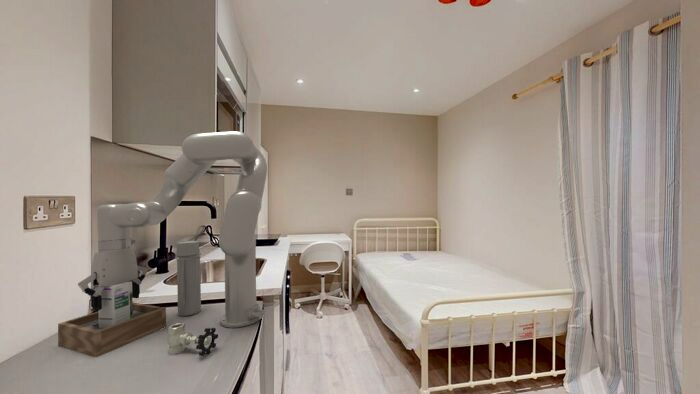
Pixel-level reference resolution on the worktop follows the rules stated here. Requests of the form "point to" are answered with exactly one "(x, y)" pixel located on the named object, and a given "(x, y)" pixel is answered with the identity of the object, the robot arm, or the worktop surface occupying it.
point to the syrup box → (116, 304)
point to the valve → (189, 339)
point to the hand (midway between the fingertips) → (117, 303)
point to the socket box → (109, 330)
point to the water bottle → (188, 278)
